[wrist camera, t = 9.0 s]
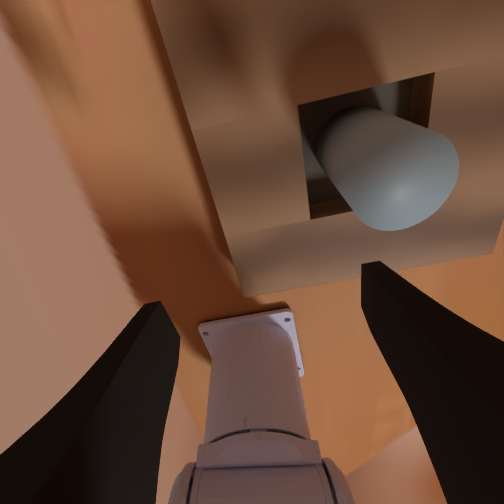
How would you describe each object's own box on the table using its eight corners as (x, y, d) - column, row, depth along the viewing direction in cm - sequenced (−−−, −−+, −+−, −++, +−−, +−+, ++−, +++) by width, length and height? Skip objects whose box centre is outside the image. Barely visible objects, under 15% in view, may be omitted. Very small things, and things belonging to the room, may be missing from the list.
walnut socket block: (466, 232, 20) (492, 253, 18) (244, 274, 22) (244, 298, 20) (551, -112, 11) (620, -148, 9) (162, 0, 13) (147, -10, 11)
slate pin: (388, 170, 17) (450, 218, 12) (320, 187, 17) (353, 240, 12) (390, 95, 15) (467, 115, 10) (312, 116, 15) (348, 146, 10)
